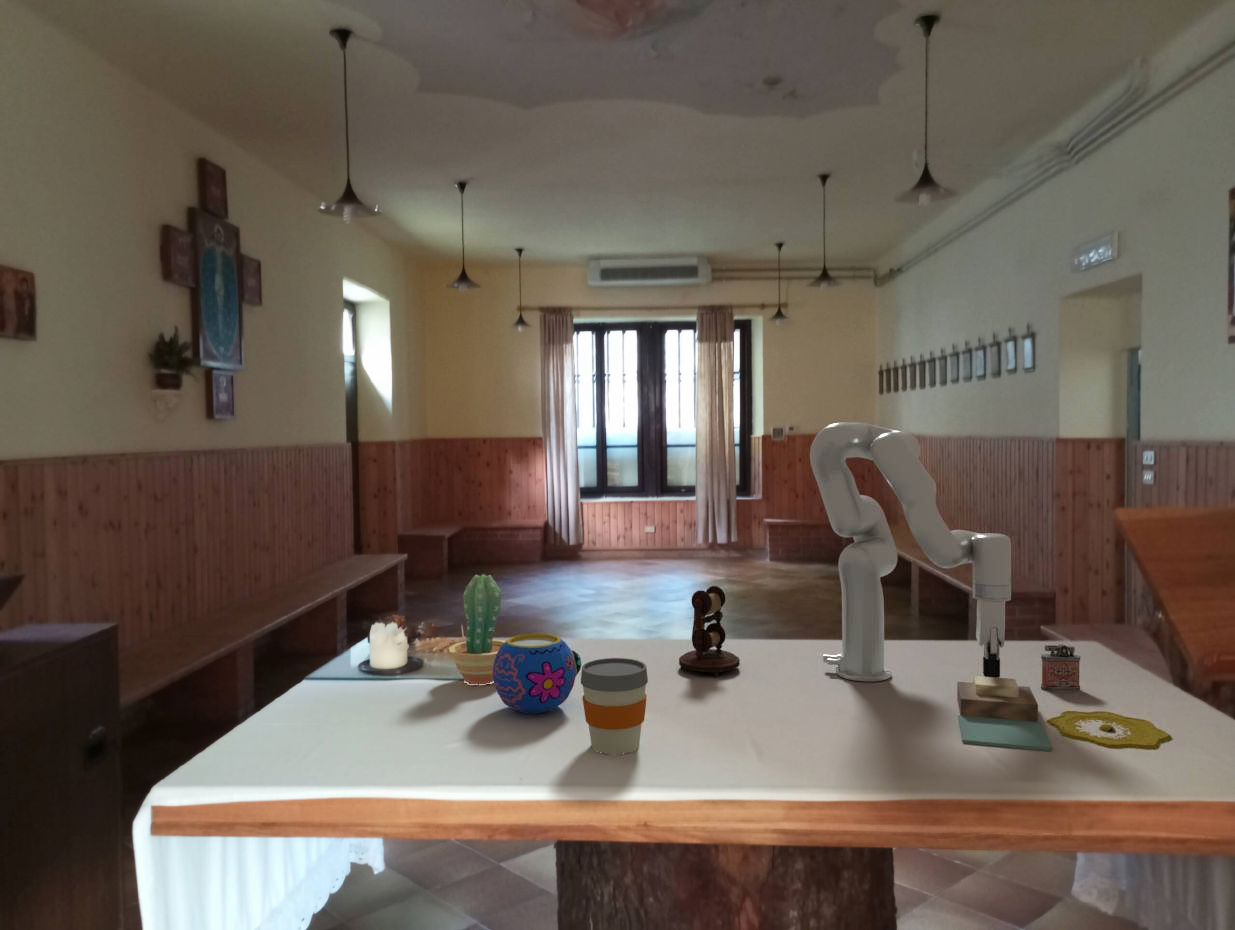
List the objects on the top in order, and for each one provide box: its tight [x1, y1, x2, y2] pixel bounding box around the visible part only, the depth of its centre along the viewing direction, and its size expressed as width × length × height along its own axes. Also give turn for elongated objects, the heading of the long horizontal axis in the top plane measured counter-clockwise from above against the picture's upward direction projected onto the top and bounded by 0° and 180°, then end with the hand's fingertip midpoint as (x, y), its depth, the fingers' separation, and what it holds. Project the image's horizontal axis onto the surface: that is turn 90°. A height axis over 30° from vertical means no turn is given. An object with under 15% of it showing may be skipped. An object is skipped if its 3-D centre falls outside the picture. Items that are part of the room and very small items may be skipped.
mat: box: [957, 714, 1053, 752], centre depth 163 cm, size 15×14×1 cm
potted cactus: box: [448, 573, 507, 685], centre depth 203 cm, size 15×15×25 cm
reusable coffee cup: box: [580, 657, 649, 755], centre depth 160 cm, size 12×13×15 cm
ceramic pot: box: [493, 633, 582, 714], centre depth 181 cm, size 18×18×15 cm
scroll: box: [678, 585, 741, 678], centre depth 209 cm, size 15×15×20 cm
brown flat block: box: [956, 681, 1039, 722], centre depth 175 cm, size 14×12×4 cm
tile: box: [972, 675, 1019, 697], centre depth 176 cm, size 8×6×2 cm
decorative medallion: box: [1046, 710, 1173, 750], centre depth 164 cm, size 20×20×1 cm
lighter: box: [1040, 643, 1081, 693], centre depth 189 cm, size 8×3×10 cm, turn 84°
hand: (991, 675), depth 184 cm, fingers closed
